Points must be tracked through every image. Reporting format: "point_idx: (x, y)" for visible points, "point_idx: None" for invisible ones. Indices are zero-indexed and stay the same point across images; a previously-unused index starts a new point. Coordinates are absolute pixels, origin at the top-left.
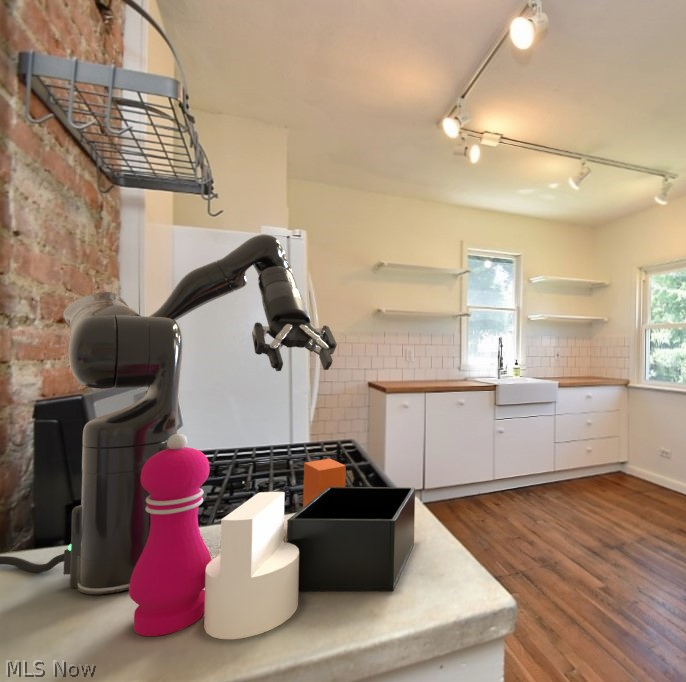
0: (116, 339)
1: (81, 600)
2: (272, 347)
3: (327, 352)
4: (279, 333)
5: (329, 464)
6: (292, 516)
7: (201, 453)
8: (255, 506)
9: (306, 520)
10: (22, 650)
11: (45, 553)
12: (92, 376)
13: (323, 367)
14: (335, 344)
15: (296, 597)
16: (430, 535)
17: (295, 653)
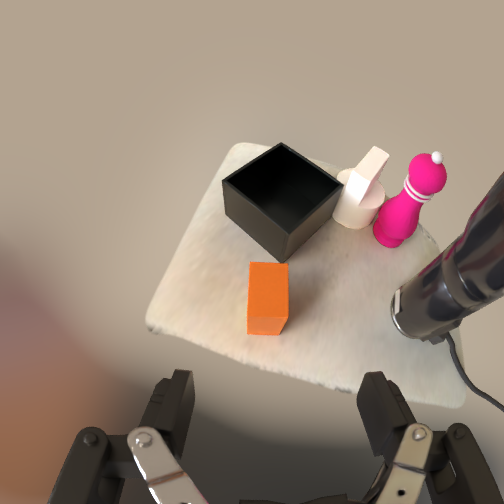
0: None
1: None
2: (419, 424)
3: (151, 422)
4: (415, 494)
5: (264, 282)
6: (340, 188)
7: (419, 157)
8: (372, 159)
9: (332, 176)
10: (437, 253)
11: (453, 396)
12: None
13: (193, 406)
14: (86, 433)
15: None
16: (202, 219)
17: (337, 169)
